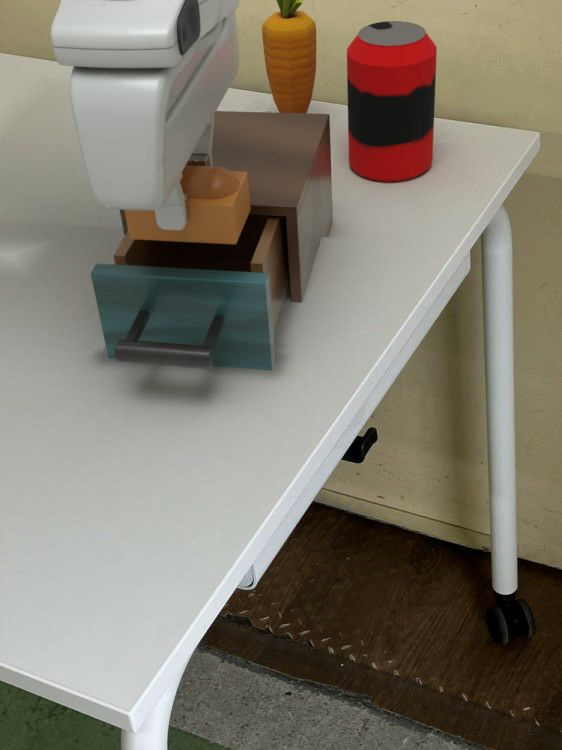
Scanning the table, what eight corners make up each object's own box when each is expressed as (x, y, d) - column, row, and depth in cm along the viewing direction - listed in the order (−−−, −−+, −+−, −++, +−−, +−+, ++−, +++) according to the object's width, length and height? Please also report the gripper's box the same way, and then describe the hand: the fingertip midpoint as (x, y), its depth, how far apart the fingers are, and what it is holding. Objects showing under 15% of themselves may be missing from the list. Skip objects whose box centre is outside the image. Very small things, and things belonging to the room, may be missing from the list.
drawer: (258, 428, 63) (249, 328, 58) (87, 413, 65) (63, 315, 60) (307, 270, 77) (302, 178, 72) (164, 262, 79) (150, 172, 74)
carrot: (270, 121, 100) (259, -35, 91) (319, 119, 100) (314, -37, 91) (267, 143, 96) (256, -17, 87) (319, 141, 96) (313, -19, 87)
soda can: (407, 138, 96) (410, 11, 88) (447, 171, 90) (454, 38, 82) (335, 156, 94) (331, 27, 86) (371, 190, 88) (371, 56, 80)
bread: (129, 239, 64) (119, 183, 62) (149, 205, 67) (140, 150, 65) (236, 245, 63) (230, 187, 60) (251, 209, 66) (246, 154, 64)
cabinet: (303, 323, 73) (296, 206, 67) (137, 312, 76) (117, 198, 70) (332, 221, 84) (329, 113, 78) (187, 214, 87) (173, 109, 81)
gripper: (155, -75, 64) (181, 128, 72) (35, 46, 48) (87, 286, 57) (252, -76, 63) (267, 131, 71) (161, 48, 47) (194, 293, 56)
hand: (186, 201), depth 64 cm, fingers closed on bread, 4 cm apart
